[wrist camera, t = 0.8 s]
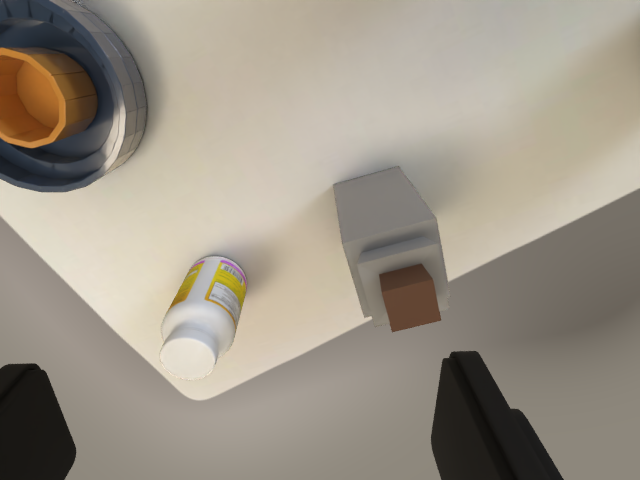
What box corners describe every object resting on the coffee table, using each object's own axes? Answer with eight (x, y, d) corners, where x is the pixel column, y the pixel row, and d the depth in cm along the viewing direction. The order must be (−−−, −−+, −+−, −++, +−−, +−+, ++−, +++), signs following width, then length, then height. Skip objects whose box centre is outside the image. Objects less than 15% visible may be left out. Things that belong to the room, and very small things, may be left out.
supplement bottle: (190, 302, 46) (150, 387, 35) (186, 252, 44) (141, 326, 32) (248, 305, 47) (227, 390, 35) (248, 255, 44) (225, 330, 32)
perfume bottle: (349, 242, 43) (372, 358, 27) (333, 184, 41) (347, 276, 24) (411, 225, 43) (471, 334, 26) (398, 166, 40) (457, 247, 24)
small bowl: (12, 38, 34) (-39, 36, 29) (100, 62, 35) (65, 65, 30) (16, 122, 37) (-29, 133, 32) (97, 142, 38) (65, 157, 33)
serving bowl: (-42, -34, 32) (-100, -48, 28) (156, 24, 34) (132, 21, 30) (-24, 152, 39) (-69, 166, 34) (141, 192, 41) (120, 211, 36)
